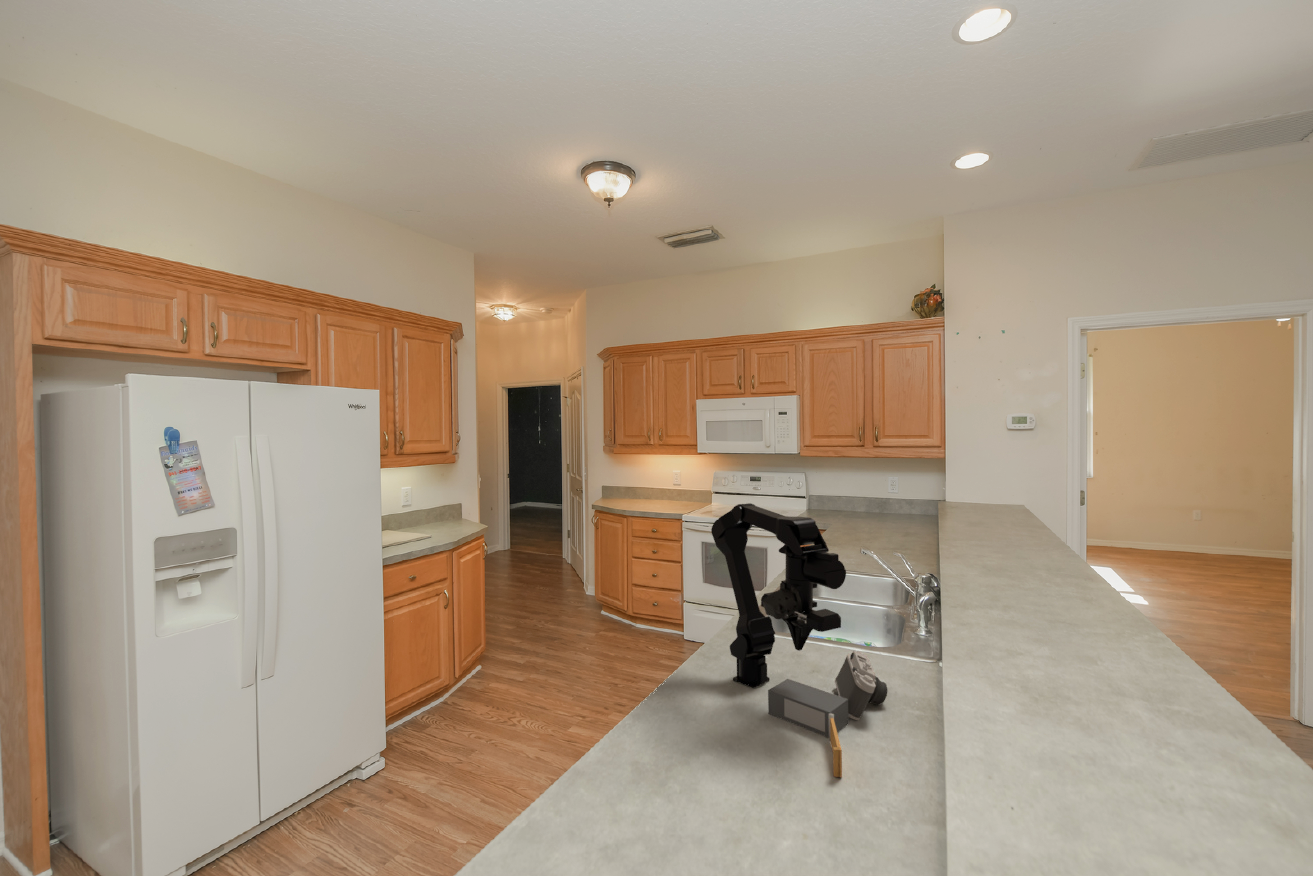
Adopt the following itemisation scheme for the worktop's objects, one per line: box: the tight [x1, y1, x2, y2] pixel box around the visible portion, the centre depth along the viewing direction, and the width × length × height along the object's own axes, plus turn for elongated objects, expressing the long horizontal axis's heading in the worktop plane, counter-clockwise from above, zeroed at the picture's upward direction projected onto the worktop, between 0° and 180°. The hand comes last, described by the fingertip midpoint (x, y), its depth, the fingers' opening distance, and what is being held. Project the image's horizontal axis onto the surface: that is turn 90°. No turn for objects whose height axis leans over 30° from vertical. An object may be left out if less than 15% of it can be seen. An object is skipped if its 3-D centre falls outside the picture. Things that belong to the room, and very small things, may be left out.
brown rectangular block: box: [829, 718, 843, 778], centre depth 101 cm, size 11×1×5 cm, turn 169°
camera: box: [834, 650, 888, 721], centre depth 122 cm, size 9×16×10 cm, turn 170°
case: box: [767, 678, 849, 742], centre depth 115 cm, size 15×9×5 cm, turn 45°
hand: (798, 649), depth 120 cm, fingers closed
